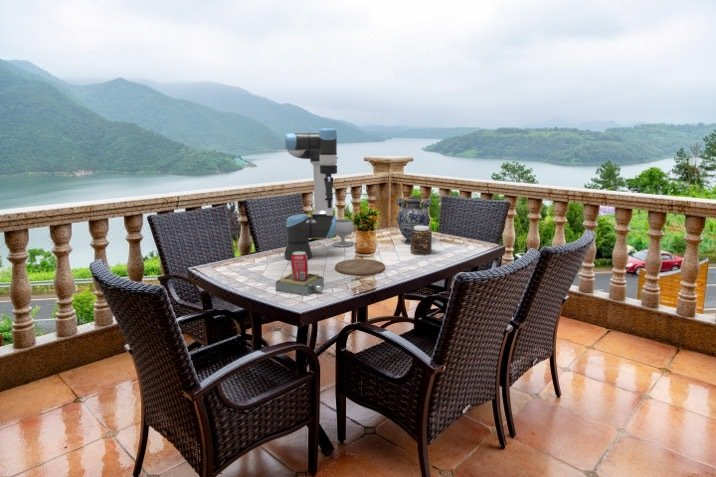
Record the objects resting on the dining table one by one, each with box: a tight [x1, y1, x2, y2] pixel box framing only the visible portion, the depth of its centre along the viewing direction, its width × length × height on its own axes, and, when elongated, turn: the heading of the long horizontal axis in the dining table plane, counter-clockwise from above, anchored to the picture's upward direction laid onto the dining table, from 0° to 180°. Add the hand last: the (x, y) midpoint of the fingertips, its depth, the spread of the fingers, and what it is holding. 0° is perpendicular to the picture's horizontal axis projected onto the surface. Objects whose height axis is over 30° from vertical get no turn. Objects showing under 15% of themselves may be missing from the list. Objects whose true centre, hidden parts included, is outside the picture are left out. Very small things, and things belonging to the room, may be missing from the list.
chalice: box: [332, 218, 355, 248], centre depth 287 cm, size 14×14×15 cm
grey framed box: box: [275, 272, 325, 296], centre depth 207 cm, size 20×14×5 cm
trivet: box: [334, 258, 386, 277], centre depth 238 cm, size 25×25×2 cm
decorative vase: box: [396, 196, 433, 245], centre depth 290 cm, size 21×19×28 cm
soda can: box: [290, 251, 309, 281], centre depth 206 cm, size 7×7×12 cm
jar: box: [409, 225, 433, 256], centre depth 267 cm, size 12×12×15 cm
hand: (329, 212), depth 212 cm, fingers open, 13 cm apart
